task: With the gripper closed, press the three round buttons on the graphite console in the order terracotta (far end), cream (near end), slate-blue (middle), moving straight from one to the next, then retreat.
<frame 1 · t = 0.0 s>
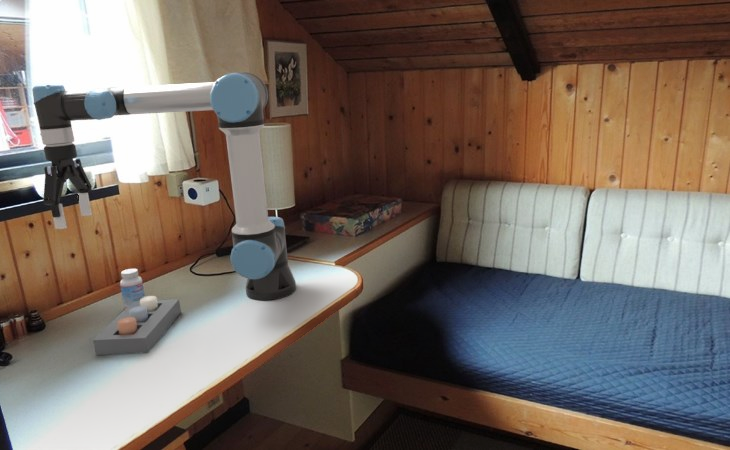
hand: (74, 221, 157), 28 cm above the table, fingers open, 13 cm apart
slate button: (138, 316, 151), point 4 cm above the table, slide at 0.0 cm
cream button: (149, 305, 158), point 5 cm above the table, slide at 0.0 cm
terracotta button: (127, 328, 144), point 4 cm above the table, slide at 0.0 cm
console: (141, 332, 152), on the table
pill bottle: (135, 307, 170), on the table
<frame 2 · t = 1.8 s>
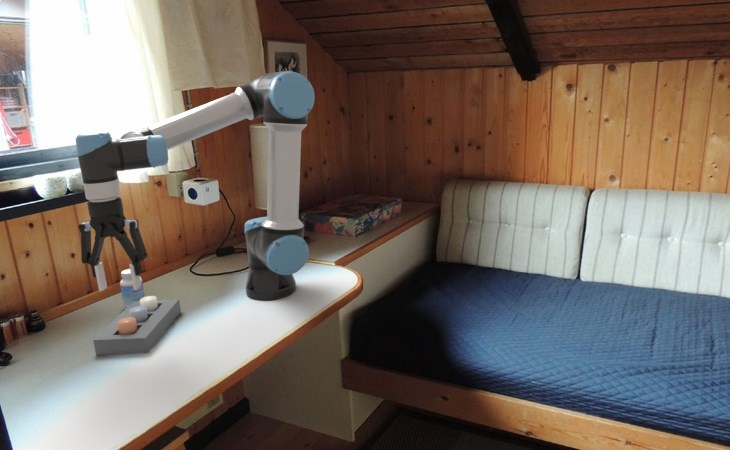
hand: (120, 288, 142), 15 cm above the table, fingers open, 8 cm apart
nothing on the table moved.
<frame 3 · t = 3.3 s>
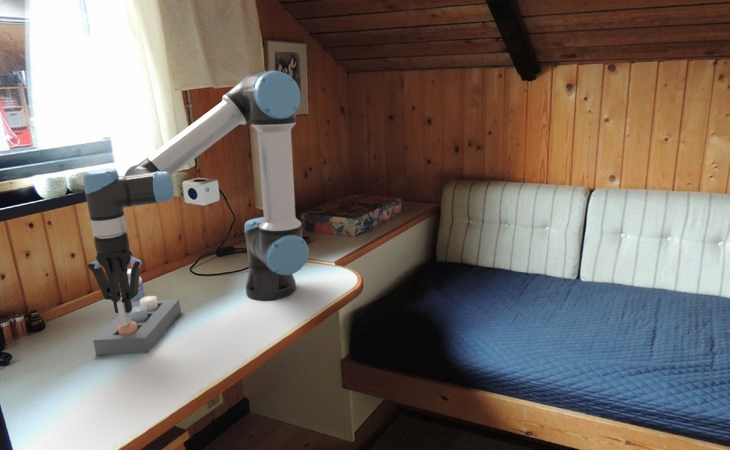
hand: (126, 324, 144), 6 cm above the table, fingers closed
terracotta button: (128, 332, 145), point 3 cm above the table, slide at 1.1 cm, touching gripper
everything else where it was.
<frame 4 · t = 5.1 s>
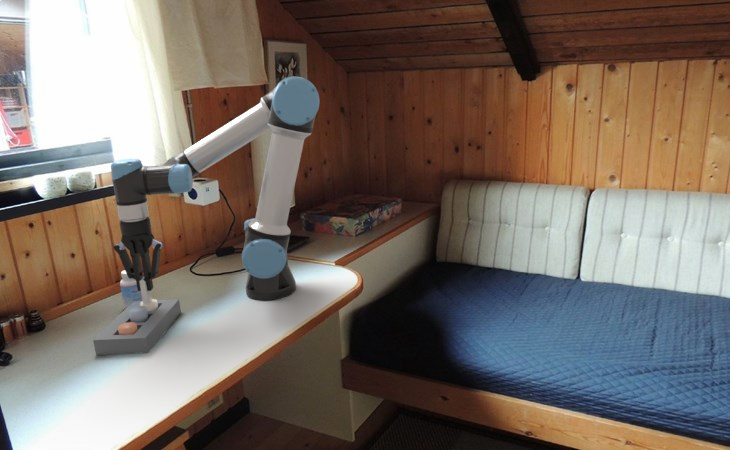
hand: (147, 301, 157), 6 cm above the table, fingers closed
cream button: (149, 308, 158), point 4 cm above the table, slide at 0.9 cm, touching gripper
terracotta button: (128, 333, 145), point 3 cm above the table, slide at 1.4 cm
everything else where it was.
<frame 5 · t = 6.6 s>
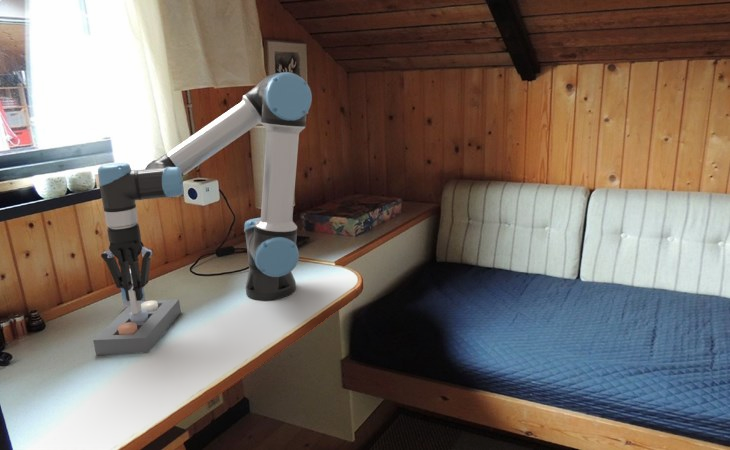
hand: (136, 311, 151), 6 cm above the table, fingers closed
slate button: (139, 319, 151), point 4 cm above the table, slide at 0.9 cm, touching gripper
cream button: (150, 310, 158), point 3 cm above the table, slide at 1.4 cm
everything else where it was.
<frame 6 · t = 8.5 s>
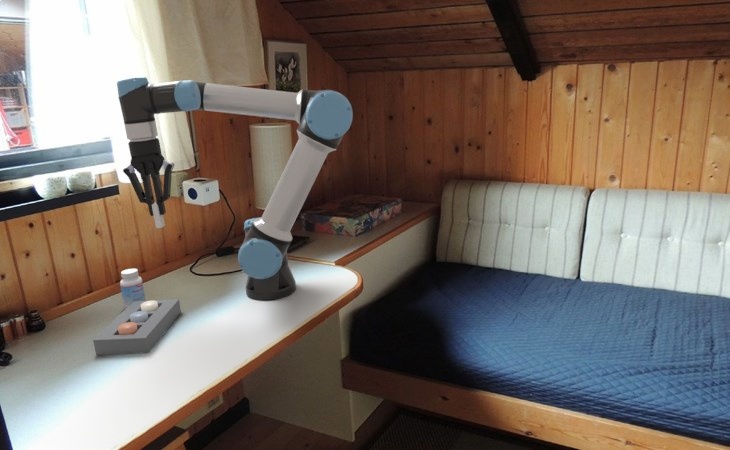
hand: (160, 226, 154), 26 cm above the table, fingers closed
slate button: (139, 321, 152), point 3 cm above the table, slide at 1.4 cm
everything else where it was.
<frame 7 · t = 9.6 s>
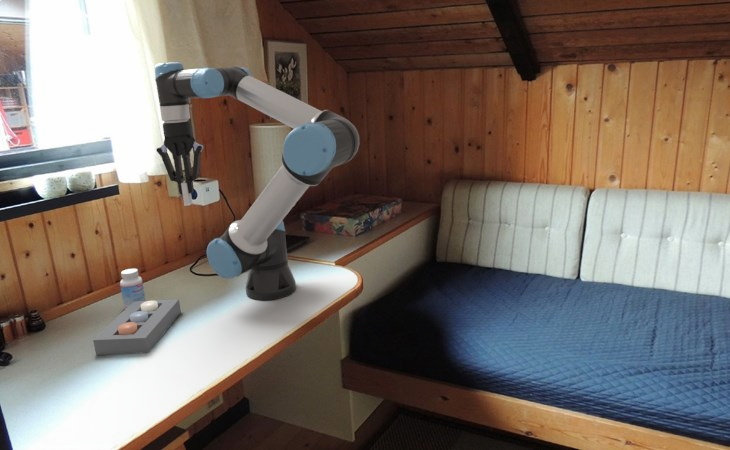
hand: (188, 204, 164), 29 cm above the table, fingers closed
nothing on the table moved.
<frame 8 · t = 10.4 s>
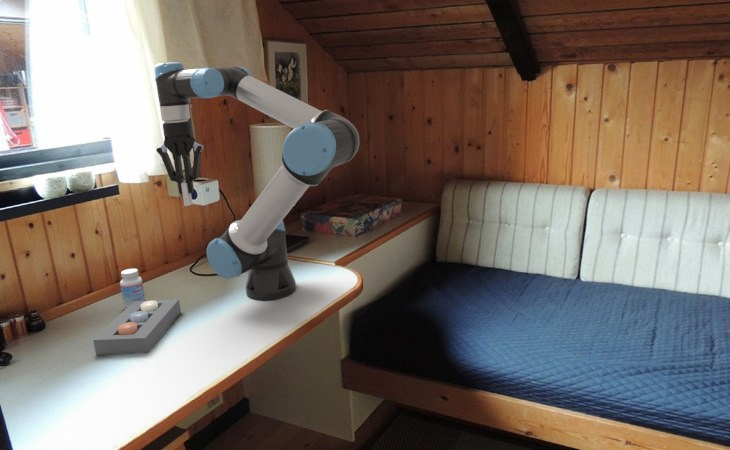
hand: (188, 204, 164), 29 cm above the table, fingers closed
nothing on the table moved.
at the end: terracotta button slide at 1.4 cm; cream button slide at 1.4 cm; slate button slide at 1.4 cm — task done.
